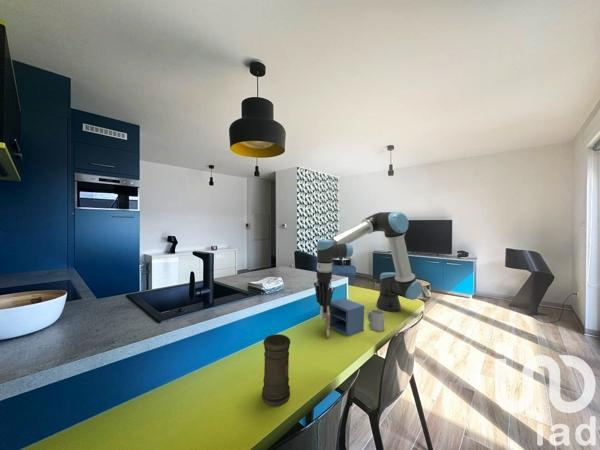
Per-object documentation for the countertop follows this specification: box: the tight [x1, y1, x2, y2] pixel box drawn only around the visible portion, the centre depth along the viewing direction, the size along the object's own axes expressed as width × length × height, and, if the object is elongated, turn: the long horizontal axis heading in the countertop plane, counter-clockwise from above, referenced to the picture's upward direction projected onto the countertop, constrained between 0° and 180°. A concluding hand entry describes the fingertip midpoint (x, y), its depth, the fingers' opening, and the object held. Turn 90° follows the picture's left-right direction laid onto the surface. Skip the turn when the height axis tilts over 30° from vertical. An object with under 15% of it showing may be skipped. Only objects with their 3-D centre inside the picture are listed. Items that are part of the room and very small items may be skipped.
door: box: [324, 306, 331, 338], centre depth 122 cm, size 1×15×11 cm, turn 177°
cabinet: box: [329, 298, 365, 337], centre depth 127 cm, size 12×14×13 cm
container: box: [261, 333, 291, 407], centre depth 77 cm, size 9×9×18 cm
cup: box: [367, 308, 385, 333], centre depth 129 cm, size 7×10×9 cm
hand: (322, 318), depth 120 cm, fingers closed
